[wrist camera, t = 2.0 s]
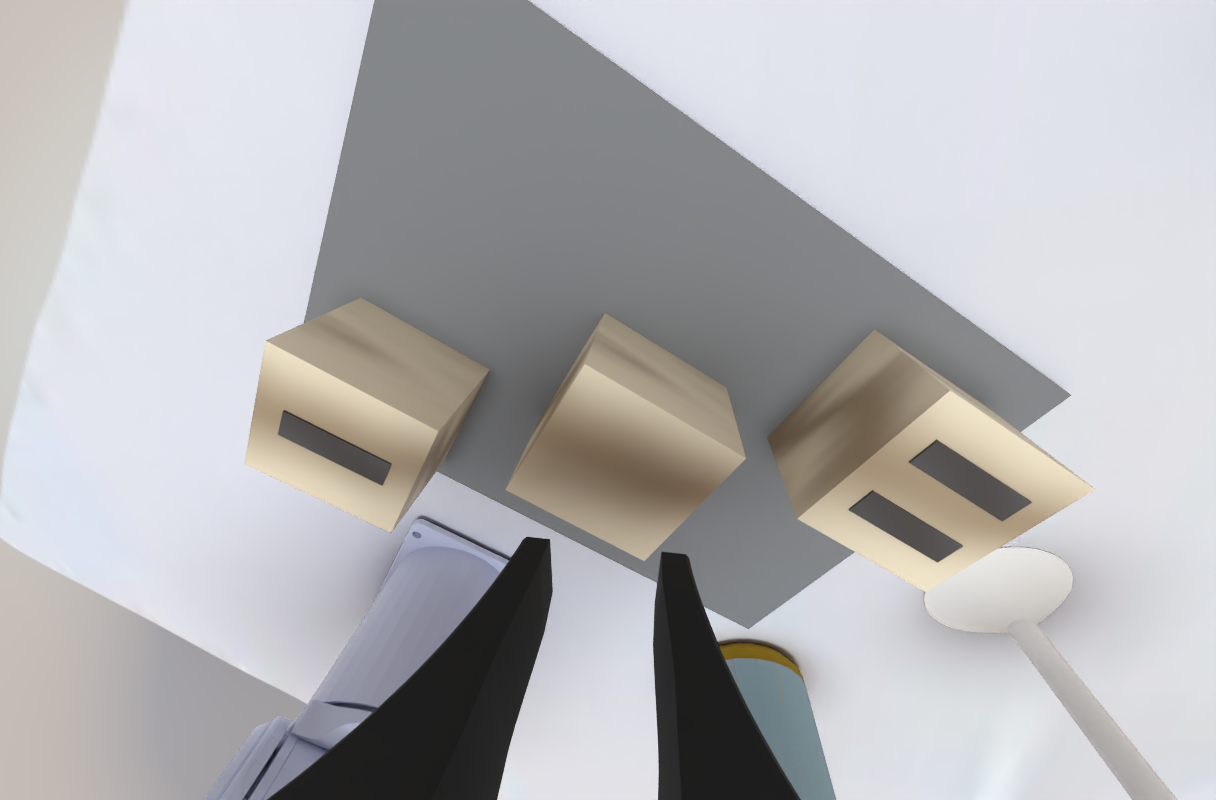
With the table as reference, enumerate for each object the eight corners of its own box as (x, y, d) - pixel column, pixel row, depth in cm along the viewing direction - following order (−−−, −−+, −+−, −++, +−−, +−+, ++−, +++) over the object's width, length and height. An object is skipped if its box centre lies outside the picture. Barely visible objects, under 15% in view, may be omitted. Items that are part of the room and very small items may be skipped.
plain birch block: (648, 478, 21) (644, 561, 17) (539, 418, 20) (505, 489, 16) (726, 387, 18) (746, 458, 14) (604, 312, 17) (584, 363, 13)
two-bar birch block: (869, 499, 20) (926, 594, 16) (766, 437, 19) (797, 520, 15) (987, 406, 17) (1097, 491, 13) (874, 329, 16) (952, 391, 12)
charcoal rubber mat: (747, 622, 26) (748, 628, 26) (294, 391, 21) (288, 395, 21) (1062, 390, 17) (1071, 395, 17) (402, -89, 13) (395, -96, 12)
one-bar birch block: (444, 459, 22) (389, 534, 17) (331, 401, 21) (242, 465, 17) (489, 369, 19) (437, 432, 15) (361, 297, 18) (263, 341, 14)
